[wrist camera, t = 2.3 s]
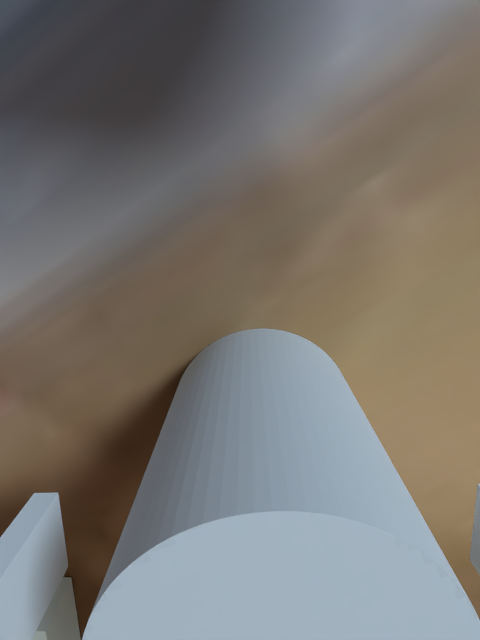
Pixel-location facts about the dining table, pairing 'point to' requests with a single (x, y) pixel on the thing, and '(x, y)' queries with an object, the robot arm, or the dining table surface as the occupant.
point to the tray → (60, 615)
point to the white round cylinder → (274, 515)
